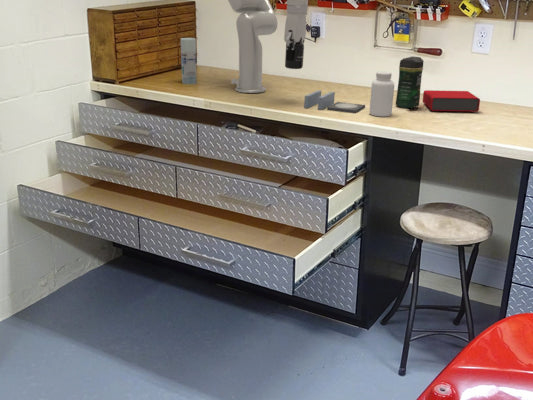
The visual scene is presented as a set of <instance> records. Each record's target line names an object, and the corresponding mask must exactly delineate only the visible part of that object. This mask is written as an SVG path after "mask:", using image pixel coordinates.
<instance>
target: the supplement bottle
mask: <svg viewBox="0 0 533 400" xmlns="http://www.w3.org/2000/svg"><path fill="white" fill-rule="evenodd" d="M290 41H294V40H290ZM301 41H302V37H301V38H300V41H299V42H297V43H296V44H295V48H294V50H295V61H288V60H286V57H287V49H286V48H287V46H286V45H285V54H284V55H285V56H284V57H285V59H284V67H285V68H286V69H290V70H300V69H302V68H303V65H304V54H305V43H304V44H303V43H301ZM292 46H293V44H292Z"/></svg>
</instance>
